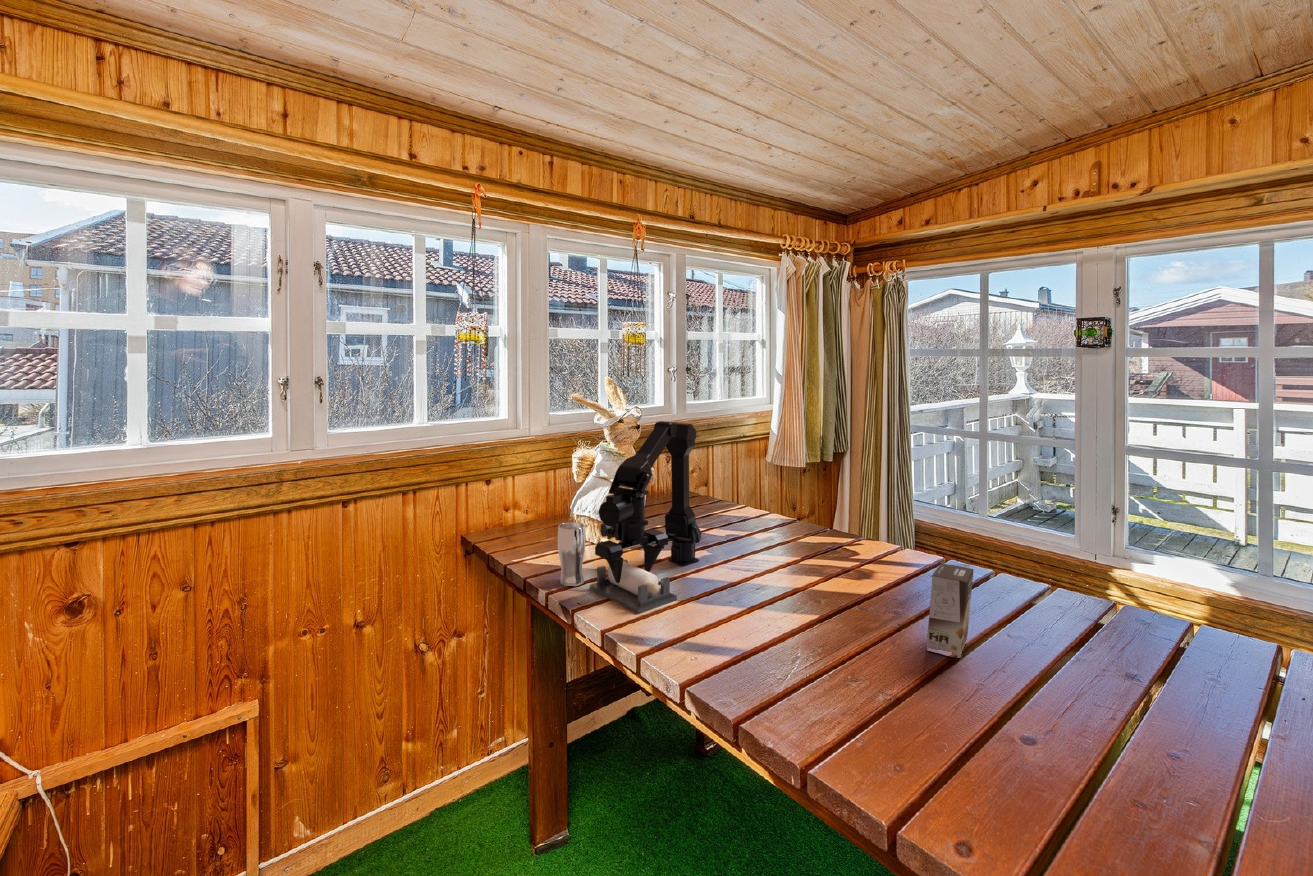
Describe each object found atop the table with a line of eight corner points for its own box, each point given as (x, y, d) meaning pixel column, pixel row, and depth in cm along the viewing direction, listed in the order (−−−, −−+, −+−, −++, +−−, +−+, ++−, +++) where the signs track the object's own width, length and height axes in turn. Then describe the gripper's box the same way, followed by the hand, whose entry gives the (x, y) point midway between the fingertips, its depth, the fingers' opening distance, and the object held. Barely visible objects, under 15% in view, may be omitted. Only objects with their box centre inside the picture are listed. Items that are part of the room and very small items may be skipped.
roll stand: (627, 577, 159) (627, 557, 158) (676, 600, 145) (677, 578, 144) (589, 588, 151) (589, 567, 150) (638, 614, 137) (638, 590, 136)
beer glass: (580, 588, 151) (580, 530, 149) (554, 586, 153) (553, 528, 150) (589, 578, 158) (588, 522, 156) (563, 576, 159) (563, 521, 157)
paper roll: (602, 583, 152) (601, 560, 151) (621, 577, 156) (620, 555, 155) (646, 605, 140) (645, 580, 139) (665, 597, 144) (665, 573, 143)
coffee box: (960, 661, 118) (967, 582, 115) (925, 651, 121) (931, 575, 119) (967, 642, 125) (974, 568, 123) (934, 634, 129) (940, 561, 126)
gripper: (641, 503, 157) (640, 560, 160) (581, 515, 145) (581, 577, 147) (670, 511, 149) (669, 572, 151) (609, 525, 137) (609, 591, 139)
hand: (632, 577), depth 147 cm, fingers open, 9 cm apart
